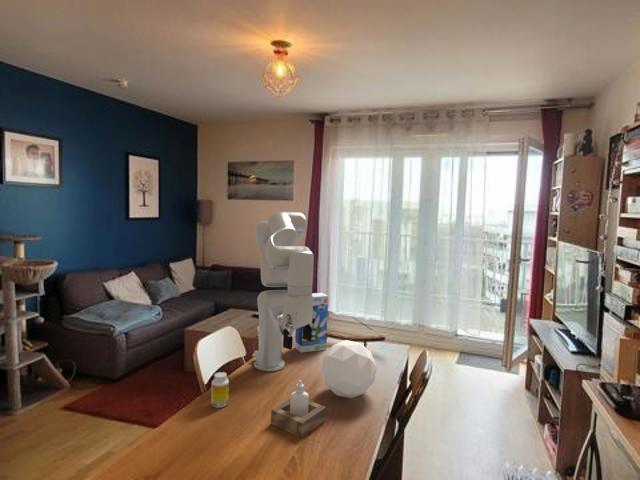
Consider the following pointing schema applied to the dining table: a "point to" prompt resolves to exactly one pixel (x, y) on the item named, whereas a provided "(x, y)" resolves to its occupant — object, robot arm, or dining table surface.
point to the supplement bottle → (220, 390)
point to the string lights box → (315, 327)
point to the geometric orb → (348, 369)
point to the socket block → (298, 418)
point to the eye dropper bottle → (299, 401)
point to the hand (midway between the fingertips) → (297, 343)
